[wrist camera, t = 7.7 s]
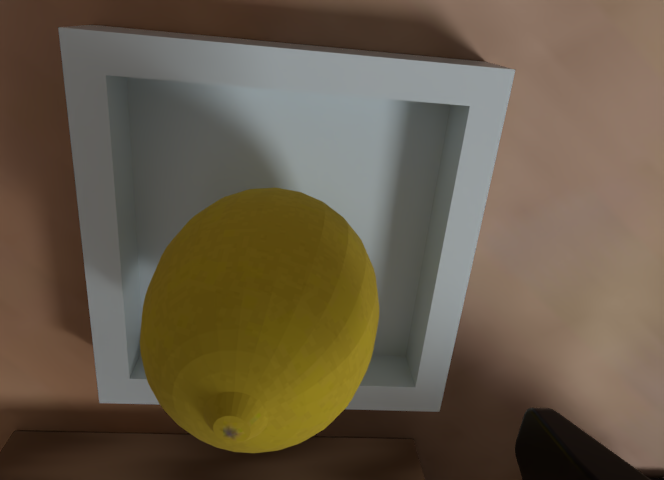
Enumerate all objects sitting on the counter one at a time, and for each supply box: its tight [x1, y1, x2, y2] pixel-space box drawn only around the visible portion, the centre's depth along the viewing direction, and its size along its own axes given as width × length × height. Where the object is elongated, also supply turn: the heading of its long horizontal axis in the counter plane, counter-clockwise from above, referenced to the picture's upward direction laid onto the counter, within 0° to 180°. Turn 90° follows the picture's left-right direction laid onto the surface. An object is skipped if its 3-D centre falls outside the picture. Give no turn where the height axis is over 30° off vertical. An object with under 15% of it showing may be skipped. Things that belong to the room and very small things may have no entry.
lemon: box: [140, 188, 379, 453], centre depth 13 cm, size 6×6×8 cm
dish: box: [58, 25, 515, 412], centre depth 16 cm, size 11×11×2 cm
